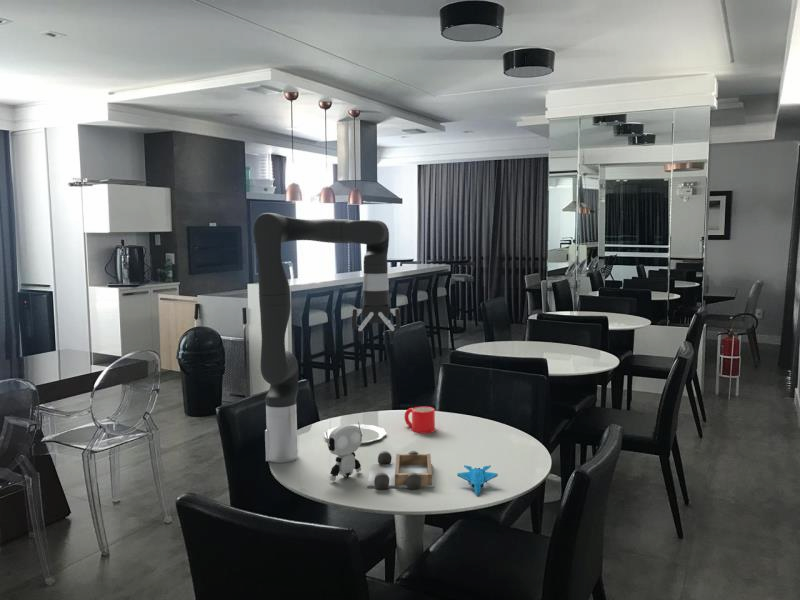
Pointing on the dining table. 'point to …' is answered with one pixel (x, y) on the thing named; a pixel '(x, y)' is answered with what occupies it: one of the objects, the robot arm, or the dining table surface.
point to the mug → (421, 419)
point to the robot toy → (345, 449)
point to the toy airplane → (477, 477)
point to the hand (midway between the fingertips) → (376, 343)
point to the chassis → (401, 471)
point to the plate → (369, 427)
